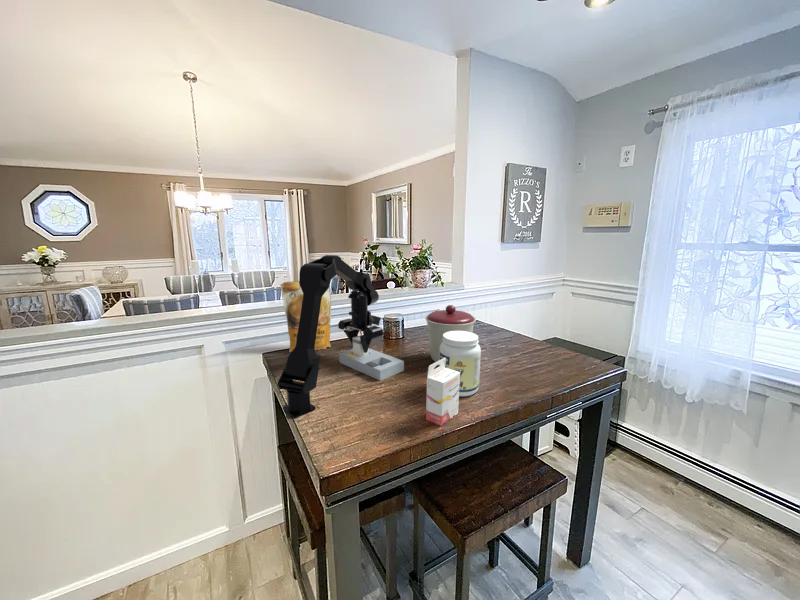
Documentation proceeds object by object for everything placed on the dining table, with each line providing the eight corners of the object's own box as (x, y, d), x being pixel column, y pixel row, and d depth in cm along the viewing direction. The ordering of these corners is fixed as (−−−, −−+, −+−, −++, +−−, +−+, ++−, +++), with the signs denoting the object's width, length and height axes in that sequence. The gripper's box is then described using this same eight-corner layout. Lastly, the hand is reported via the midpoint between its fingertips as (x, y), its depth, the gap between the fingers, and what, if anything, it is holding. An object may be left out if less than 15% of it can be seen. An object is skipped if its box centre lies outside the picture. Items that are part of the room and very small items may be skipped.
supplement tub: (431, 391, 100) (432, 337, 96) (448, 376, 110) (450, 327, 106) (469, 402, 93) (472, 345, 90) (484, 385, 103) (487, 333, 99)
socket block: (403, 370, 114) (404, 360, 113) (380, 380, 106) (380, 369, 106) (362, 354, 129) (362, 345, 128) (339, 362, 121) (339, 352, 121)
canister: (419, 367, 117) (420, 309, 113) (430, 350, 134) (431, 299, 129) (471, 373, 112) (474, 313, 107) (475, 354, 129) (478, 301, 124)
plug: (368, 360, 121) (368, 337, 120) (360, 364, 118) (359, 340, 117) (361, 358, 124) (361, 335, 122) (353, 361, 121) (352, 337, 119)
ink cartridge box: (442, 427, 81) (443, 371, 78) (425, 420, 84) (426, 366, 81) (459, 412, 88) (461, 360, 85) (443, 406, 91) (444, 356, 88)
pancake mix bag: (285, 349, 135) (280, 281, 129) (332, 343, 141) (329, 278, 136) (285, 354, 129) (280, 283, 123) (334, 348, 135) (331, 281, 130)
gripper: (394, 309, 117) (394, 351, 120) (360, 301, 129) (361, 339, 133) (370, 315, 109) (371, 359, 112) (336, 306, 121) (338, 346, 125)
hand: (360, 350), depth 120 cm, fingers open, 5 cm apart
